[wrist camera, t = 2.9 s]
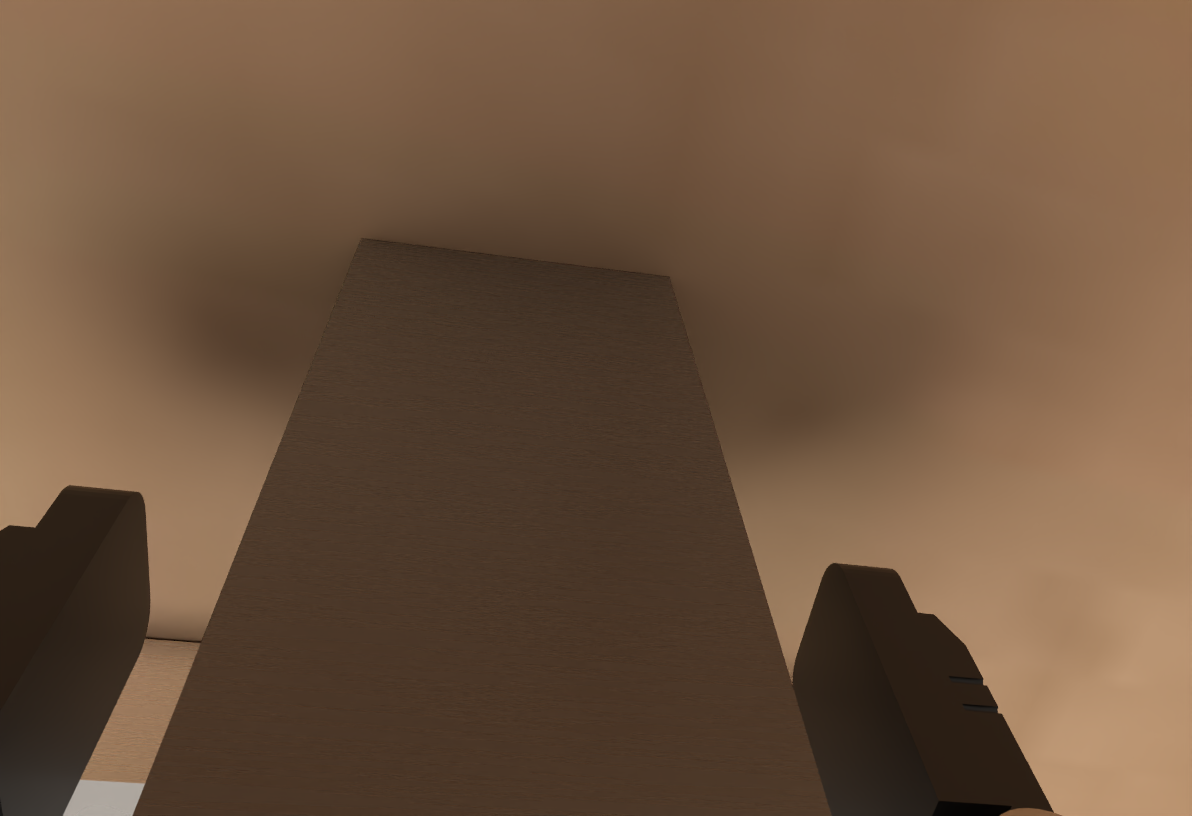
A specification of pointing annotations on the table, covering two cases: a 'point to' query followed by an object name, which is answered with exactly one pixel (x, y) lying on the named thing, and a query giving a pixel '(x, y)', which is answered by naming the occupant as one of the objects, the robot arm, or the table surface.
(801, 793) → the square peg
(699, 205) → the table surface
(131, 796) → the square hole plate
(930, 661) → the robot arm
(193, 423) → the table surface
